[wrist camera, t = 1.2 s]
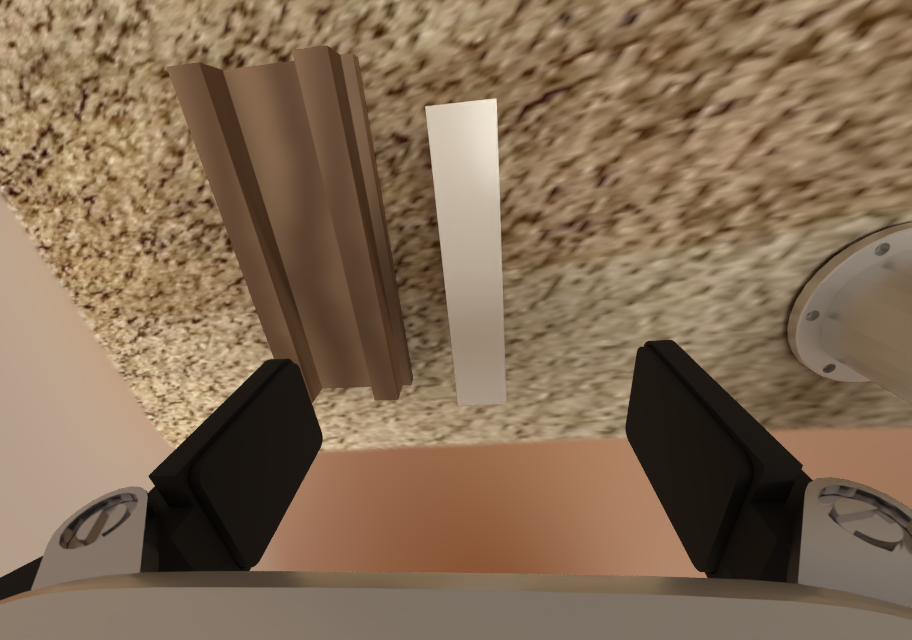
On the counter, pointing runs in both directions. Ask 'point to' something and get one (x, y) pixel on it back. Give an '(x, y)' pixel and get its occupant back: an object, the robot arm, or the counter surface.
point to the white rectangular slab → (470, 243)
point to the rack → (304, 212)
